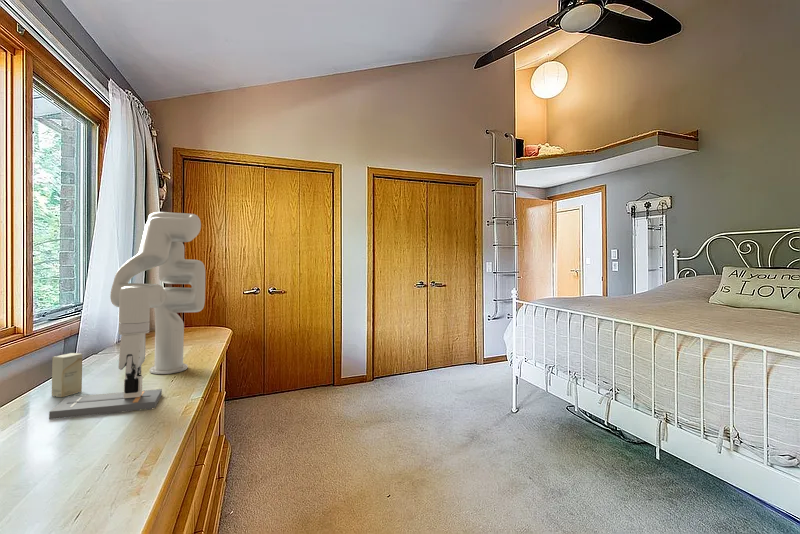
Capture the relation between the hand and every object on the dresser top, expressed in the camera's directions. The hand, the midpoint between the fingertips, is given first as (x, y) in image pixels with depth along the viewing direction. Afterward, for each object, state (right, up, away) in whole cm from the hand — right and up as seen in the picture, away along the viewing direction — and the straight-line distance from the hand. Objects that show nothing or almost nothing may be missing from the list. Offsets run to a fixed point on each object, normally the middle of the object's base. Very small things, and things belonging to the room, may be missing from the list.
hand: (133, 389), depth 118 cm
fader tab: (0, -2, 0) cm, 2 cm away
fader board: (-5, -4, -2) cm, 7 cm away
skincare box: (-25, -4, +7) cm, 26 cm away
